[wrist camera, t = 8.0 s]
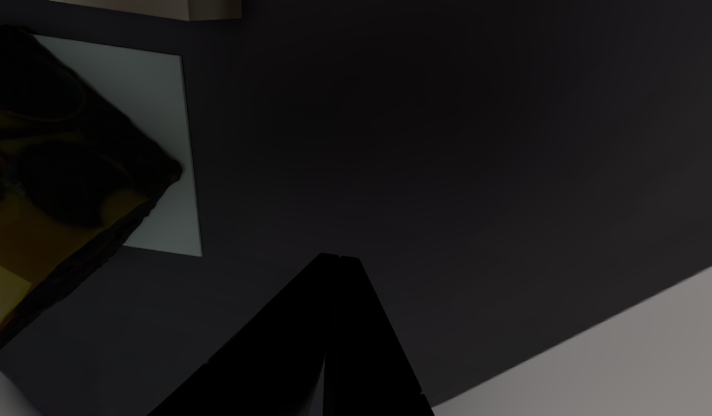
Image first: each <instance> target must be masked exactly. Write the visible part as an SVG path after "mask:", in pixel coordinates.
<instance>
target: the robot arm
mask: <svg viewBox="0 0 712 416" xmlns="http://www.w3.org/2000/svg"><path fill="white" fill-rule="evenodd" d="M325 353H326V356H325ZM324 358H325V369H324V393H323V416H435V415H434V413H433V411H432V409H431V407H430V405H429V403H428V401H427V398H426V396H425V395H424V394H422V389H421V386H420V384H419V382H418V380H417V378H416V376H415V374H414V372H413V370H412V368H411V366H410V363H409V361H408V359H407V357H406V355H405V353H404V351H403V349H402V347H401V345H400V343H399V341H398V338H397V336H396V334H395V332H394V330H393V328H392V326H391V324H390V322H389V320H388V318H387V315H386V313H385V311H384V309H383V307H382V305H381V303H380V301H379V299H378V297H377V295H376V293H375V290H374V288H373V286H372V284H371V282H370V280H369V278H368V276H367V274H366V272H365V270H364V267H363V265H362V263H361V261H360V260H359V259H358V258H355V257H348V256H341V257H340V258H339V256H338V255H334V254H326V253H320V254H319V255H318V256H317V257H316V258H315V259H313V260H312V261H311V262H310V263H309V264H308V265H307V266H306V267H305V268H304V269H303V270H302V271H301V272H300V273H299V274H298V275H297V276H296V277H295V278H294V279H292V280H291V281H290V282H289V283H288V284H287V285H286V286H285V287H284V288H283V289H282V290H281V291H280V292H279V293H278V294H277V295H276V296H275V297H274V298H273V299H271V300H270V301H269V302H268V303H267V304H266V305H265V306H264V307H263V308H262V309H261V310H260V311H259V312H258V313H257V314H256V315H255V316H254V317H253V318H251V319H250V320H249V321H248V322H247V323H246V324H245V325H244V326H243V327H242V328H241V329H240V330H239V331H238V332H237V333H236V334H235V335H234V336H233V337H232V338H230V339H229V340H228V341H227V342H226V343H225V344H224V345H223V346H222V347H221V348H220V349H219V350H218V351H217V352H216V353H215V354H214V355H213V356H212V357H211V358H209V359H208V364H206V363H204V364H203V365H202V366H201V367H200V368H199V369H198V370H197V371H195V372H194V373H193V374H192V375H191V376H190V377H189V378H188V379H187V380H186V381H185V382H184V383H183V384H182V385H181V386H179V387H178V388H177V389H176V390H175V391H174V392H173V393H172V394H171V395H170V396H168V397H167V398H166V399H165V400H164V401H163V402H162V403H161V404H160V405H158V406H157V407H156V408H155V409H154V410H153V411H152V412H150V413H149V414H148V415H147V416H308V415H309V412H310V408H311V405H312V401H313V398H314V394H315V391H316V387H317V384H318V381H319V377H320V374H321V370H322V366H323V362H324Z"/></svg>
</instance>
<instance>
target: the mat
mask: <svg viewBox="0 0 712 416" xmlns="http://www.w3.org/2000/svg"><path fill="white" fill-rule="evenodd" d="M29 34H30V33H29ZM30 35H31V36H32V38H33V39H34V40H35V41H36V42H37V43H38V44H39V45H40V46H42V47H43V48H44V49H45V50H46V51H47V52H48V53H50V54H51V55H52V56H53V57H54V58H55V59H56V60H57V61H58V63H59V64H61V65H63V66H64V67H66V68H68V69H70V70H72V71H73V72H74V73H75V74H76V76H77V77H78V78H79V79H80V80H81V81H82V82H83V83H84V84H86V85H87V86H88V87H89V88H91V89H92V90H93V91H94V92H95V93H97V94H98V95H99V96H100V97H101V98H103V99H104V100H105V101H106V102H108V103H109V104H110V105H112V106H113V107H114V108H115V109H117V110H118V111H119V112H121V113H122V114H123V115H124V116H126V117H127V118H128V119H129V120H130V122H131V124H132V126H134V127H135V128H137V129H138V130H139V131H140V132H142V133H143V134H144V135H145V136H146V137H147V138H149V139H151V140H152V141H154V142H156V143H157V145H158V146H159V147H160V148H161V149H162V150H163V151H164V152H165V153H166V154H167V155H168V156H169V157H170V158H171V159H173V160H176V161H178V162H179V164H180V165H181V167H182V169H183V172H182V174H181V178H180V181H177V182H175V183H174V184H172V185H171V186H169V187H168V189H167V190H166V191H165V193H164V194H163V196H162V197H161V198H160V199H159V200H158V202H157V203H156V207H155V208H154V209H153V210H151V211H150V214H149V216H148V217H144V219H143V221H142V223H141V225H140V226H139V227H138V228H137V229H136V230H135V231H134V232H133V233H132V234H131V235H130V236H129V237H128V239H127V241H126V242H125V243H124V244H122V245H124V246H131V247H138V248H145V249H152V250H159V251H166V252H173V253H180V254H187V255H194V256H200V257H201V256H202V255H203V252H202V243H201V234H200V224H199V215H198V206H197V197H196V187H195V178H194V169H193V159H192V150H191V141H190V132H189V122H188V113H187V104H186V95H185V85H184V76H183V67H182V57H181V56H179V55H172V54H165V53H159V52H152V51H145V50H138V49H132V48H125V47H118V46H111V45H105V44H98V43H91V42H84V41H78V40H71V39H64V38H57V37H51V36H44V35H37V34H30Z"/></svg>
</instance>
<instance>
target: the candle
mask: <svg viewBox="0 0 712 416" xmlns="http://www.w3.org/2000/svg"><path fill="white" fill-rule="evenodd" d="M182 172H183V169H182V167H181V165H180V164H179V162H178V161H176V160H173V159H171V158H170V157H169V156H168V155H167V154H166V153H165V152H164V151H163V150H162V149H161V148H160V147H159V146H158V145H157V143H156V142H154V141H152V140H151V139H149V138H147V137H146V136H145V135H144V134H143V133H142V132H140V131H139V130H138V129H137V128H135V127H134V126H132V124H131V122H130V120H129V119H128V118H127V117H126V116H124V115H123V114H122V113H121V112H119V111H118V110H117V109H115V108H114V107H113V106H112V105H110V104H109V103H108V102H106V101H105V100H104V99H103V98H101V97H100V96H99V95H98V94H97V93H95V92H94V91H93V90H92V89H91V88H89V87H88V86H87V85H86V84H84V83H83V82H82V81H81V80H80V79H79V78H78V77H77V76H76V74H75V73H74V72H73V71H72V70H70V69H68V68H66V67H64V66H63V65H61V64H59V63H58V61H57V60H56V59H55V58H54V57H53V56H52V55H51V54H50V53H48V52H47V51H46V50H45V49H44V48H43V47H42V46H40V45H39V44H38V43H37V42H36V41H35V40H34V39H33V38H32V36H31V35H30V34H29V33H28V32H26V31H24V30H22V29H20V28H18V27H14V26H11V25H8V24H5V25H0V350H1V349H2V348H3V347H4V346H5V345H6V344H7V343H8V342H9V341H11V340H12V339H13V338H14V337H15V336H16V335H17V334H18V333H19V332H20V331H22V330H23V329H24V328H25V327H27V326H28V325H29V324H30V323H32V322H33V321H34V320H35V319H36V318H37V317H38V316H39V315H40V314H41V313H42V312H44V311H46V310H47V309H49V308H50V307H52V306H53V305H54V304H56V303H57V302H59V301H61V300H63V299H65V298H66V297H67V296H68V295H69V294H70V293H72V292H73V291H74V290H75V289H76V288H77V287H78V286H79V285H80V284H81V283H82V282H83V281H85V280H86V279H87V278H88V277H89V276H90V275H91V274H92V273H94V272H95V271H96V269H98V268H100V267H101V266H102V265H103V264H104V263H105V262H108V258H109V257H111V256H112V255H113V254H114V253H115V252H116V251H117V250H118V248H119V247H120V246H121V245H122V244H124V243H125V242H126V241H127V239H128V237H129V236H130V235H131V234H132V233H133V232H134V231H135V230H136V229H137V228H138V227H139V226H140V225H141V223H142V221H143V219H144V217H148V216H149V214H150V211H151V210H153V209H154V208H155V207H156V203H157V202H158V200H159V199H160V198H161V197H162V196H163V194H164V193H165V191H166V190H167V189H168V187H169V186H171V185H172V184H174V183H175V182H177V181H180V178H181V174H182Z"/></svg>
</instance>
